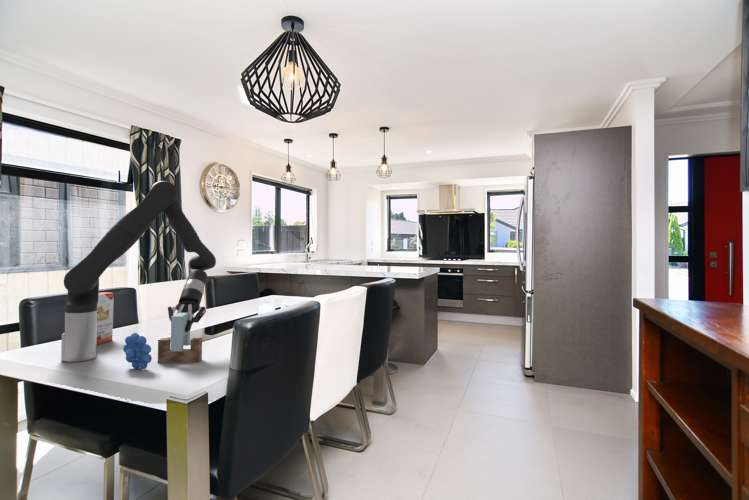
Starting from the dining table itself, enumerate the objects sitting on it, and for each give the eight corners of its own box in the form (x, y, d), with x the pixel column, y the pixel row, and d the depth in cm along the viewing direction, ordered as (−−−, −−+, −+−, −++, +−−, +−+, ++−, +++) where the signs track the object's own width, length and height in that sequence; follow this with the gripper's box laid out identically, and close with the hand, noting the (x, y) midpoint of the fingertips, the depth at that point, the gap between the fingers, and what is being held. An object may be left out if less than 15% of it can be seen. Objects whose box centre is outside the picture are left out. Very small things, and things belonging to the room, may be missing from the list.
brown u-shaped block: (157, 362, 136) (158, 340, 136) (161, 360, 139) (161, 338, 139) (199, 362, 138) (199, 340, 138) (201, 359, 141) (202, 338, 141)
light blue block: (170, 350, 134) (171, 316, 134) (179, 344, 143) (180, 312, 143) (181, 350, 135) (181, 316, 135) (189, 344, 143) (190, 312, 143)
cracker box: (83, 348, 152) (84, 296, 152) (70, 347, 154) (71, 295, 154) (113, 340, 166) (114, 292, 166) (102, 339, 167) (103, 291, 167)
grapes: (111, 370, 127) (112, 334, 127) (130, 364, 133) (131, 330, 133) (138, 374, 123) (139, 337, 123) (156, 368, 130) (157, 333, 130)
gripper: (170, 287, 147) (156, 325, 135) (209, 287, 148) (198, 325, 136) (175, 299, 152) (162, 337, 140) (213, 299, 154) (203, 336, 142)
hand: (180, 331), depth 138 cm, fingers closed on light blue block, 3 cm apart
